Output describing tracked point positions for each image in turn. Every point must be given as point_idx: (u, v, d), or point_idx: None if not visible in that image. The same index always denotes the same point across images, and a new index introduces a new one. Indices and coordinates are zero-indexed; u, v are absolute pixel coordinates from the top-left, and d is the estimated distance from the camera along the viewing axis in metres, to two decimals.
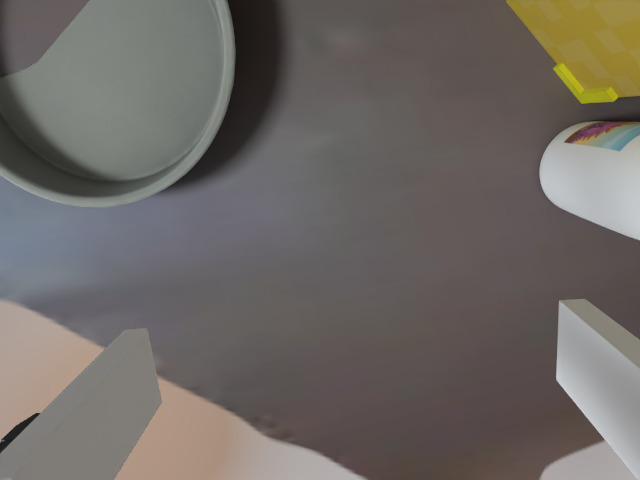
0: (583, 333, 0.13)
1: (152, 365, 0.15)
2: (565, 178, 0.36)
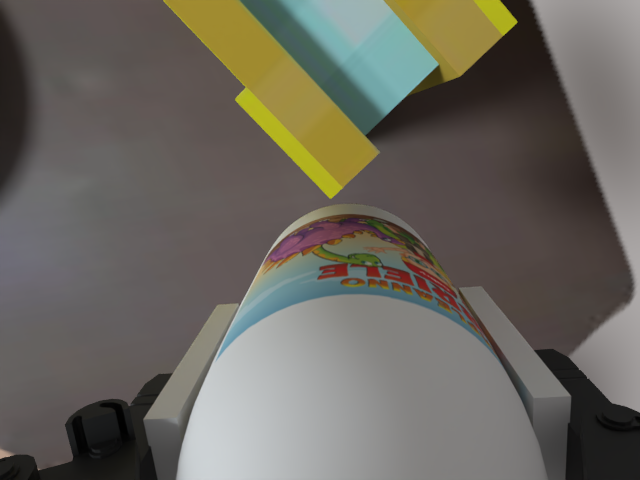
0: None
1: None
2: None
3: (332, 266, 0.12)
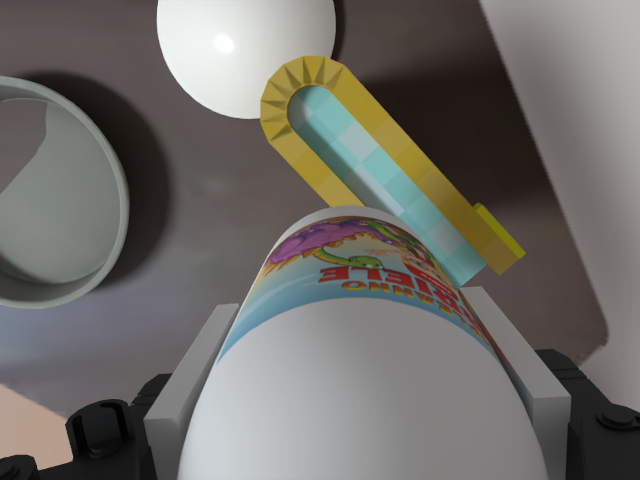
0: None
1: None
2: None
3: (333, 269, 0.12)
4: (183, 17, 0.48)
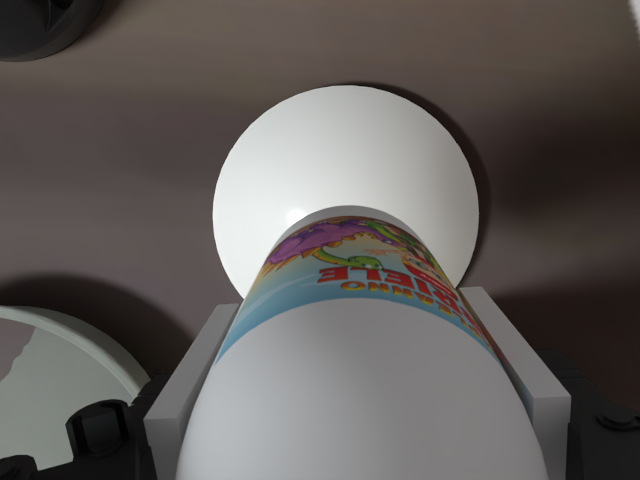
0: None
1: None
2: None
3: (332, 269, 0.12)
4: (251, 211, 0.32)
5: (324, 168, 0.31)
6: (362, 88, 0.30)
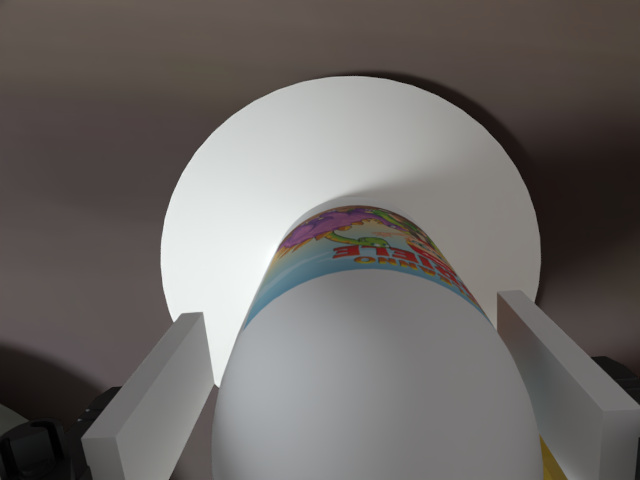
0: (513, 321, 0.14)
1: (207, 347, 0.16)
2: None
3: (345, 247, 0.13)
4: (215, 256, 0.23)
5: (319, 195, 0.22)
6: (374, 80, 0.20)
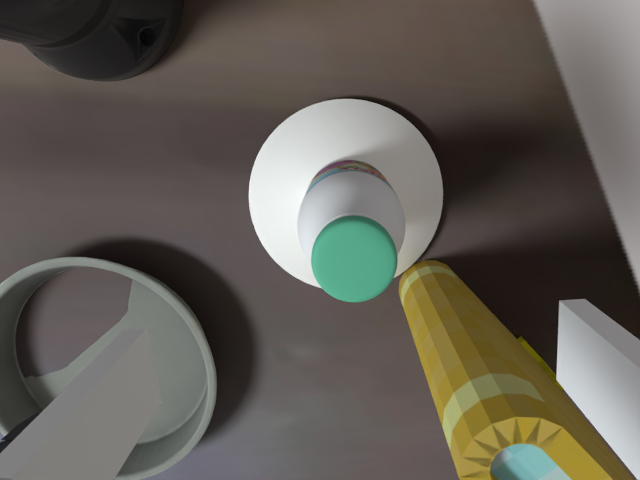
0: (583, 333, 0.13)
1: (152, 365, 0.15)
2: None
3: (342, 168, 0.35)
4: (277, 190, 0.44)
5: (330, 158, 0.43)
6: (358, 100, 0.42)
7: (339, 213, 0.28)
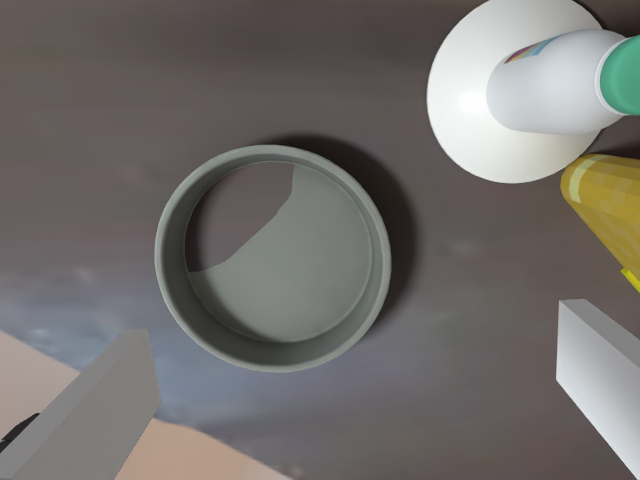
0: (583, 333, 0.13)
1: (152, 365, 0.15)
2: (502, 91, 0.41)
3: None
4: (456, 82, 0.47)
5: (510, 50, 0.46)
6: None
7: (612, 45, 0.30)
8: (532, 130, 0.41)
